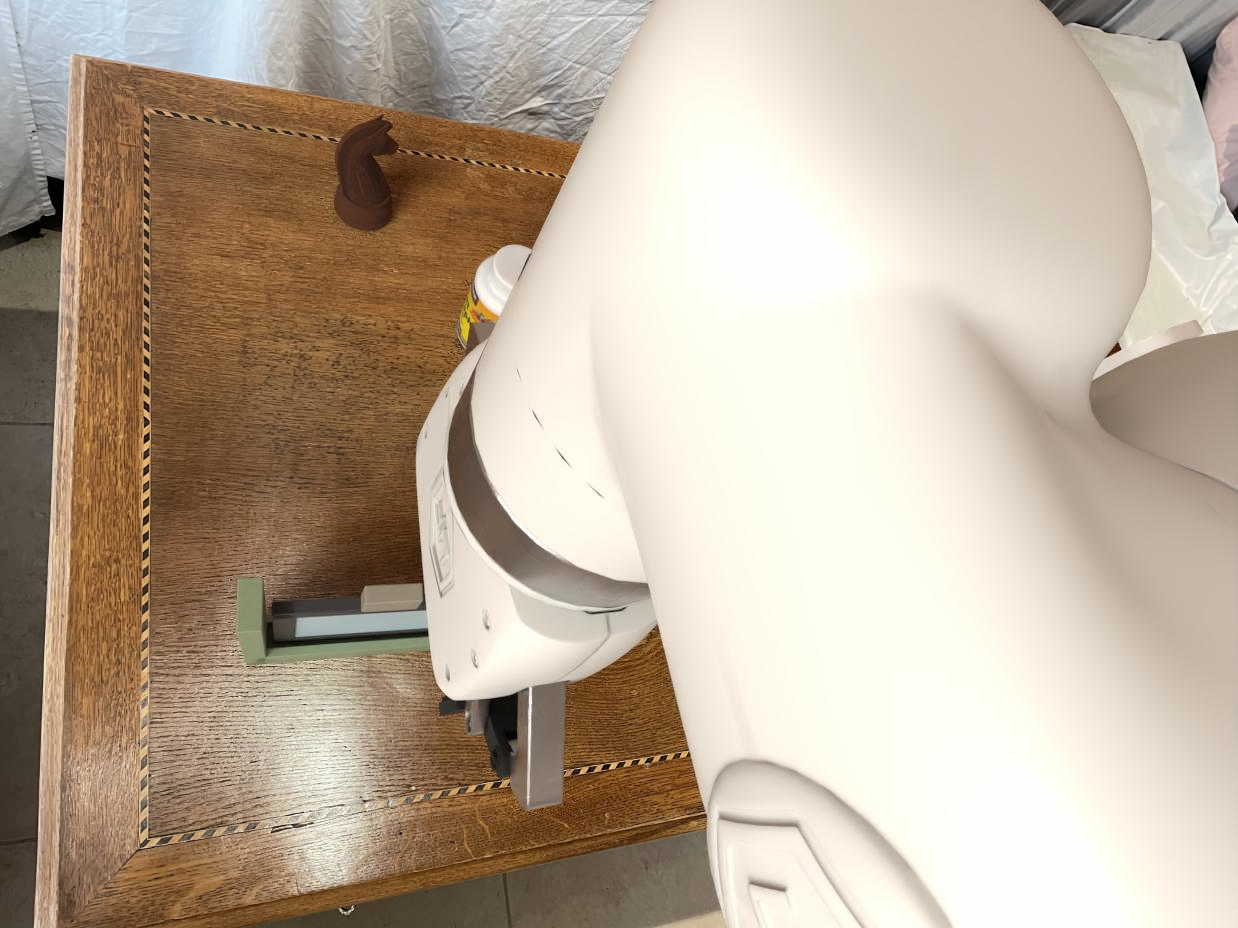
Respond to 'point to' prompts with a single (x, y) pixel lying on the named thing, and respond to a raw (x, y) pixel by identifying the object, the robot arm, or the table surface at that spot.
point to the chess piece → (364, 175)
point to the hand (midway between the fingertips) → (465, 588)
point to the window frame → (262, 650)
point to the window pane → (352, 615)
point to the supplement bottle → (491, 288)
